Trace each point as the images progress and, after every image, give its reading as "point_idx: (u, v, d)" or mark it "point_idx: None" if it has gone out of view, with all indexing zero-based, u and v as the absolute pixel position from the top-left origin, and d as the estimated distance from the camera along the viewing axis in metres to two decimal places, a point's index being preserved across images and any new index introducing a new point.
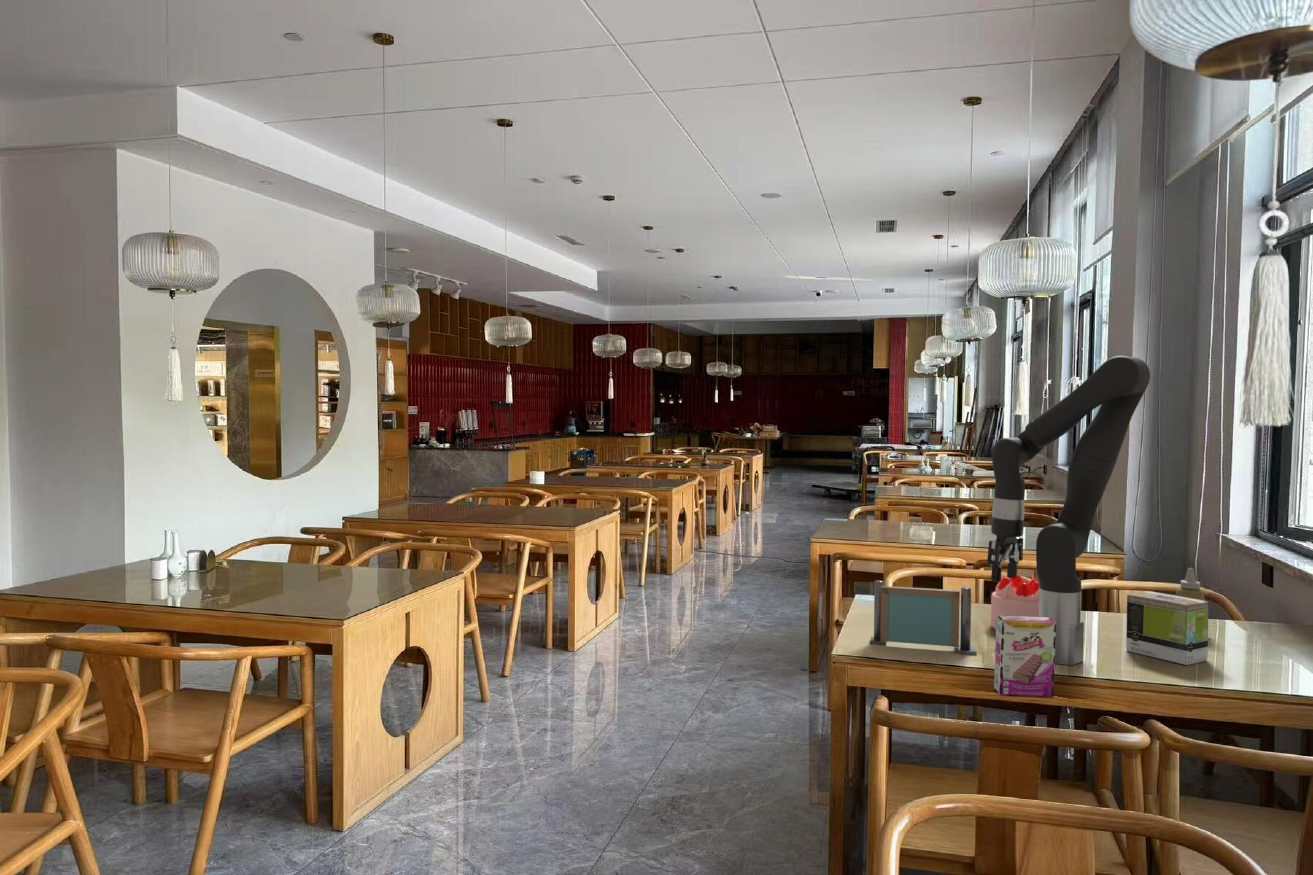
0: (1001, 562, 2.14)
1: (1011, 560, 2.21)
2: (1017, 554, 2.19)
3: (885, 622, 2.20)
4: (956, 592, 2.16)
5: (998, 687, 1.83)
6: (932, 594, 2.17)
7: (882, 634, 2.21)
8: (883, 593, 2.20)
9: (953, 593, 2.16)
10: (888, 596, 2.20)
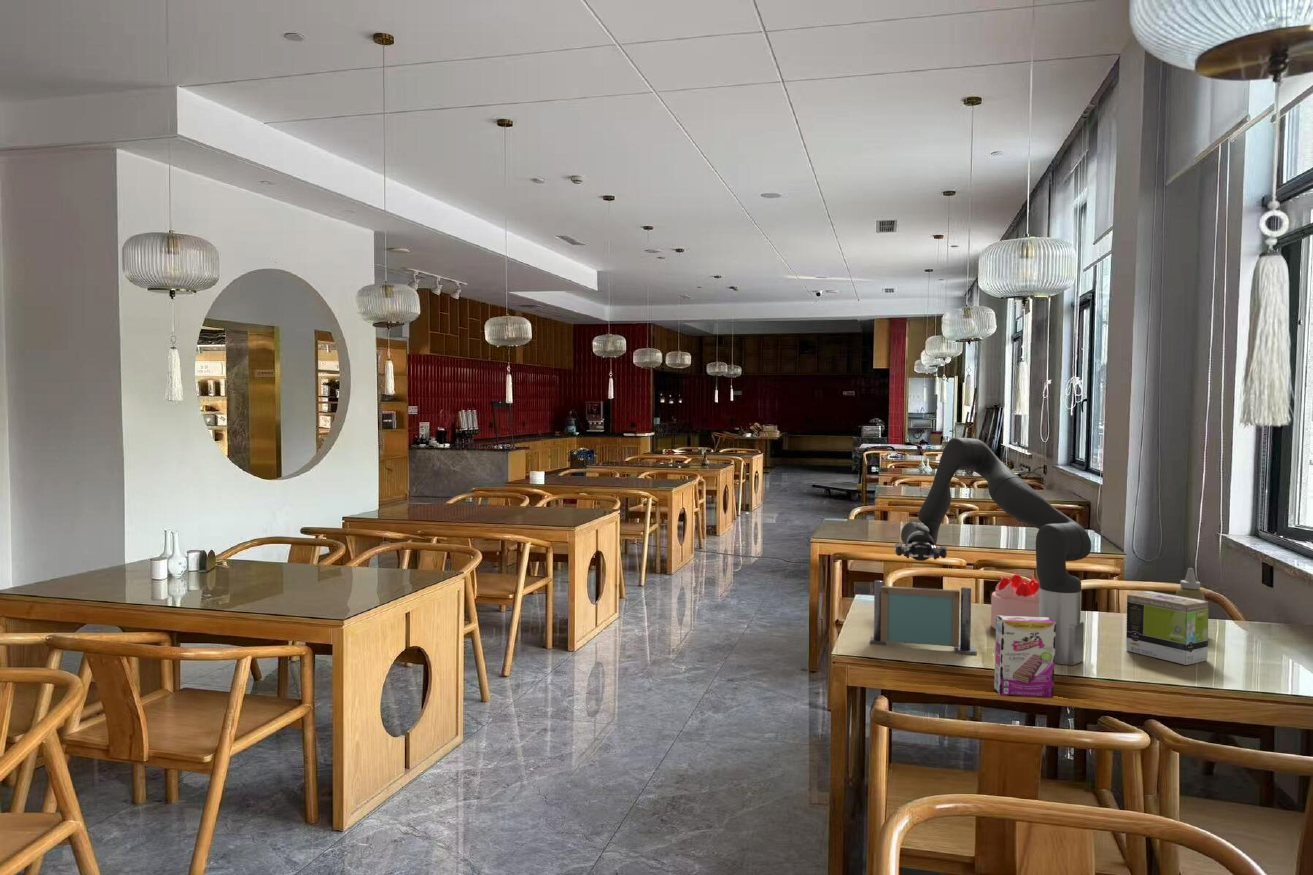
0: (906, 546, 2.34)
1: None
2: (931, 545, 2.34)
3: (885, 622, 2.20)
4: (956, 592, 2.16)
5: (998, 687, 1.83)
6: (932, 594, 2.17)
7: (882, 634, 2.21)
8: (883, 593, 2.20)
9: (953, 593, 2.16)
10: (888, 596, 2.20)
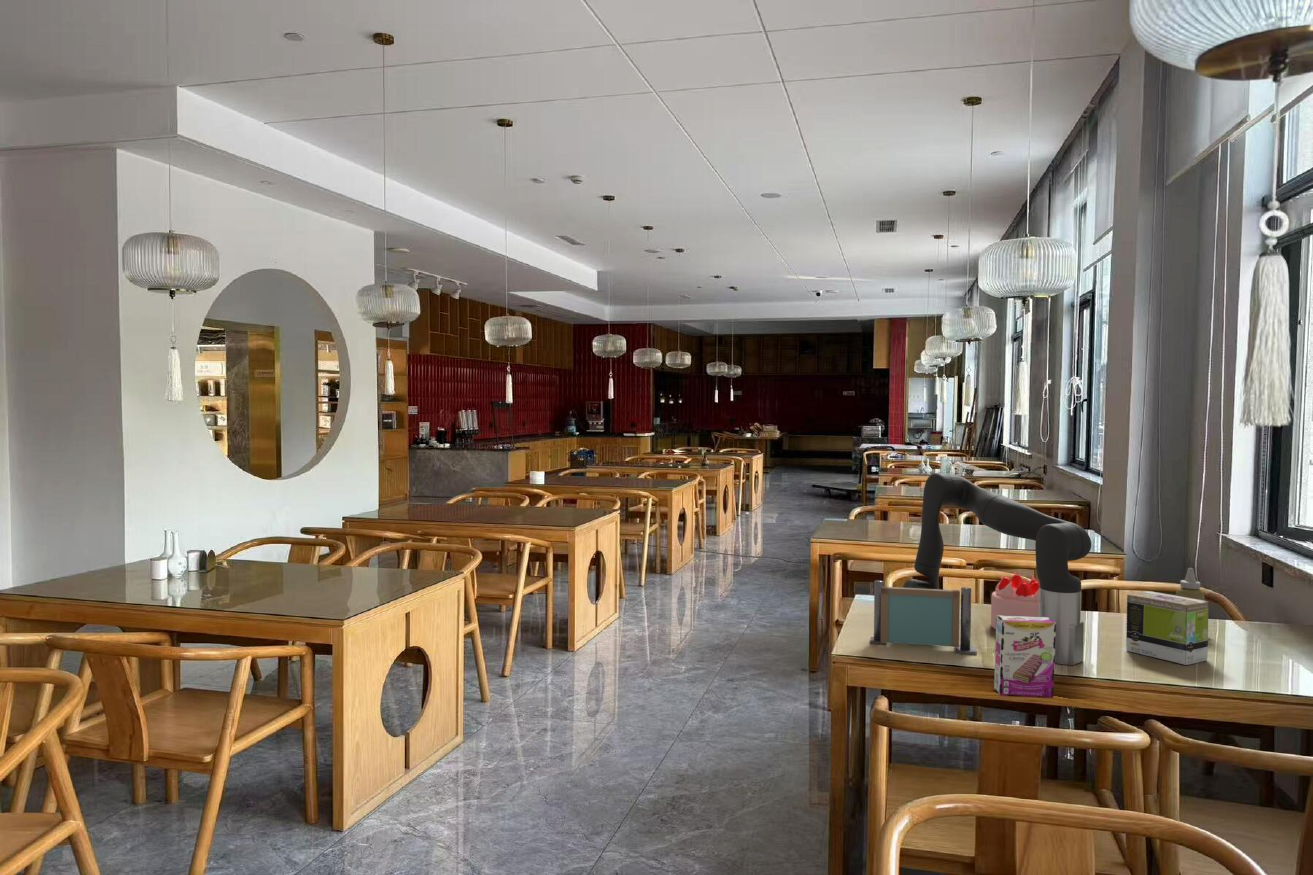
0: None
1: None
2: None
3: (885, 623, 2.20)
4: (956, 592, 2.15)
5: (998, 687, 1.83)
6: (932, 594, 2.17)
7: (882, 635, 2.20)
8: (883, 594, 2.20)
9: (953, 593, 2.16)
10: (888, 597, 2.19)
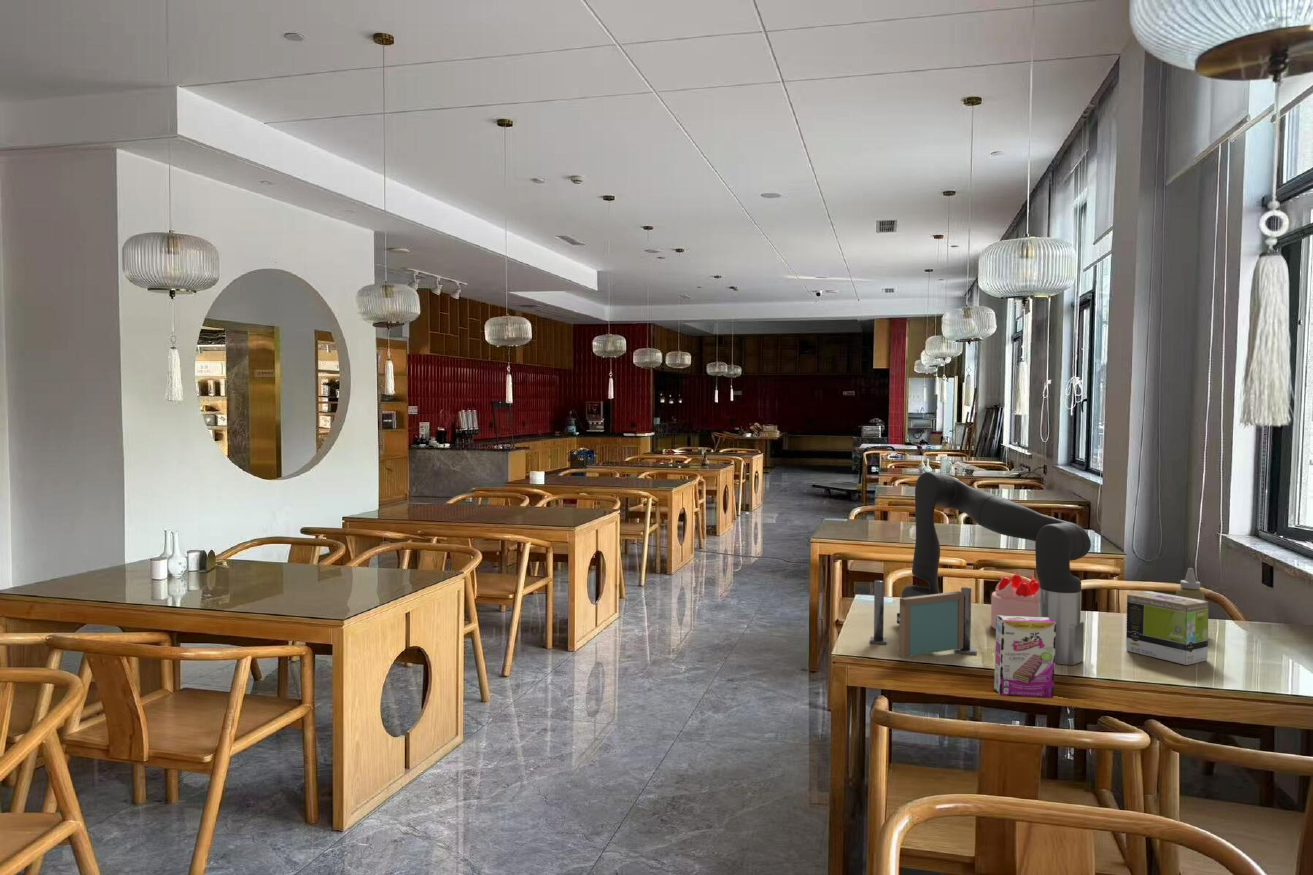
0: None
1: None
2: None
3: (908, 636, 2.07)
4: (961, 593, 2.14)
5: (998, 687, 1.83)
6: (944, 599, 2.11)
7: (905, 649, 2.07)
8: (906, 605, 2.06)
9: (959, 595, 2.14)
10: None
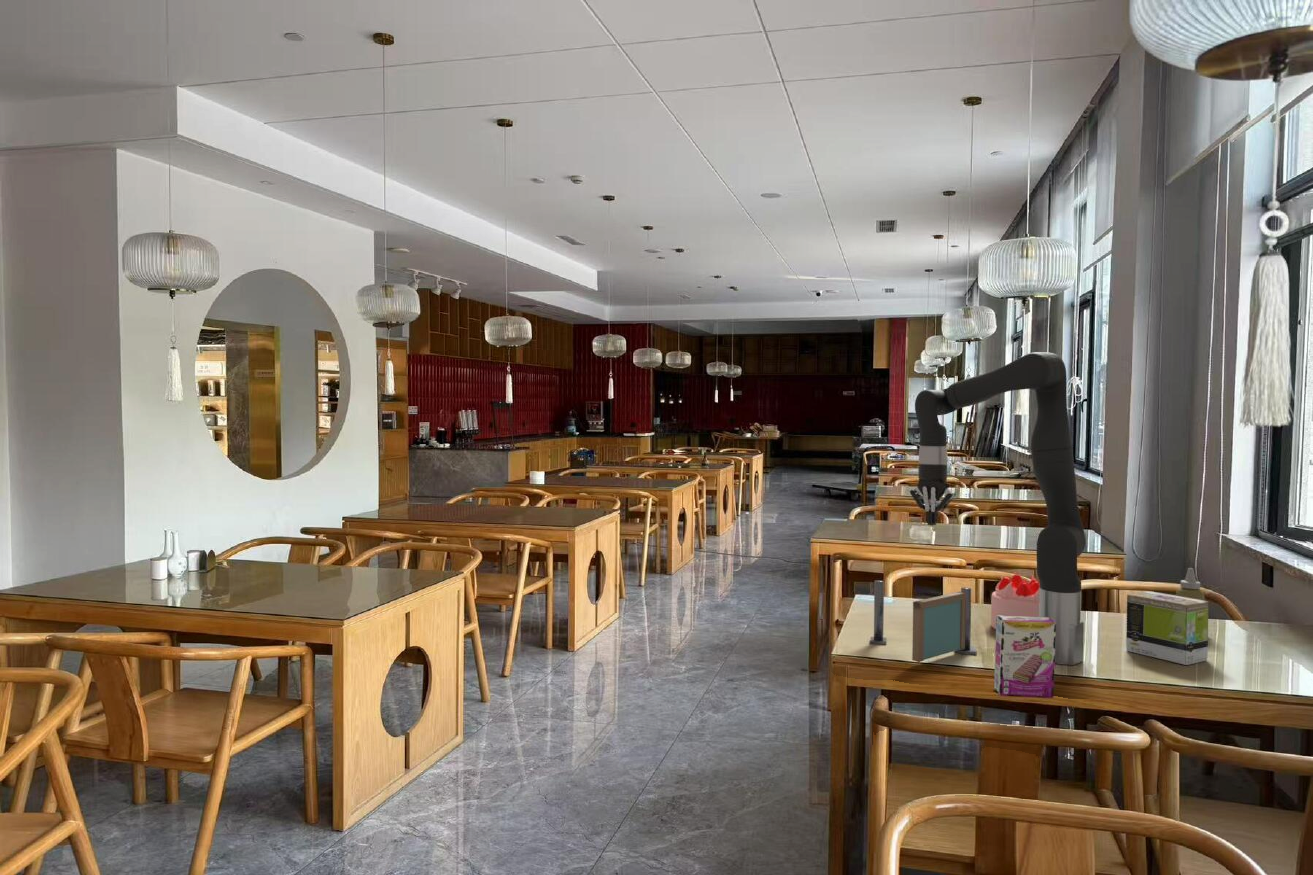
0: (926, 506, 2.37)
1: None
2: (932, 500, 2.35)
3: (922, 640, 2.03)
4: (963, 594, 2.14)
5: (998, 687, 1.83)
6: (950, 600, 2.10)
7: (920, 654, 2.03)
8: (920, 609, 2.03)
9: (962, 595, 2.13)
10: None
